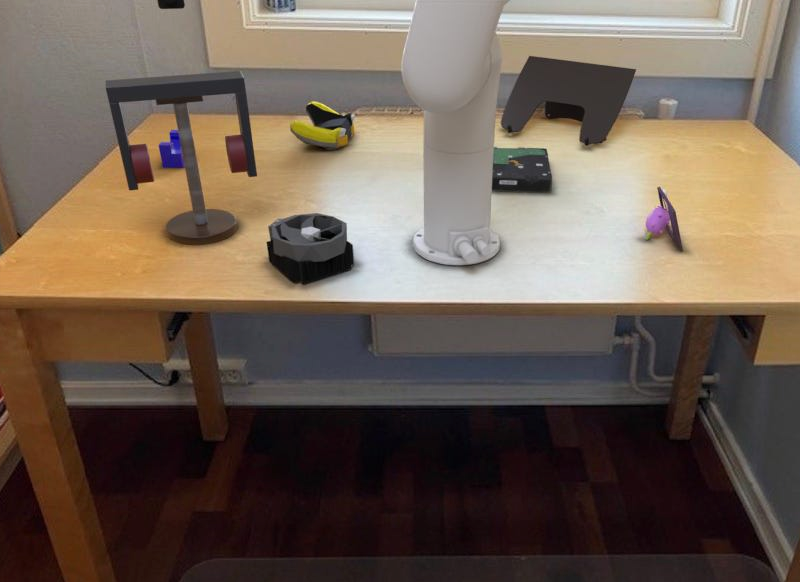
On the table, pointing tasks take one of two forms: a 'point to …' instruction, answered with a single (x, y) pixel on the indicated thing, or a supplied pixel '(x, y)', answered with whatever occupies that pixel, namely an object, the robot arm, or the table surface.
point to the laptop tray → (569, 95)
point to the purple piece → (663, 219)
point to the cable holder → (172, 151)
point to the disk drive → (521, 170)
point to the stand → (195, 190)
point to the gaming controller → (324, 127)
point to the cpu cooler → (309, 247)
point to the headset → (179, 87)
